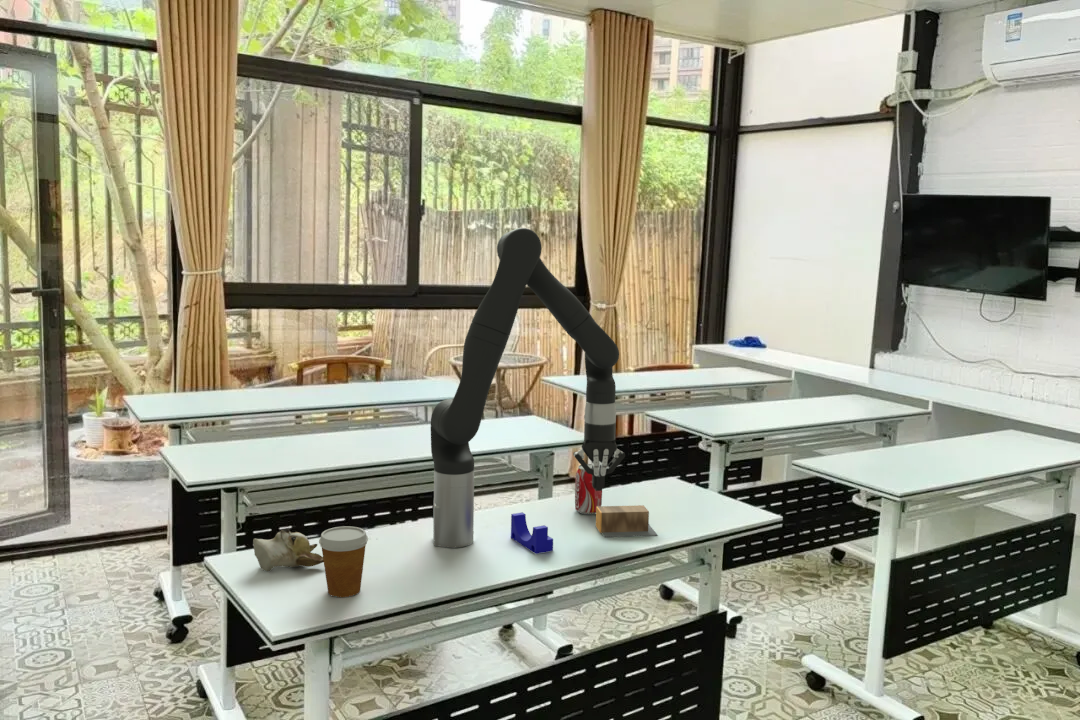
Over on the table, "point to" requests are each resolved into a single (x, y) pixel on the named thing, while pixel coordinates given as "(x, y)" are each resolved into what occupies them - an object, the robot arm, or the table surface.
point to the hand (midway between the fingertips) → (598, 489)
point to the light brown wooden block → (622, 518)
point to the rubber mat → (631, 533)
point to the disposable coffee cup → (343, 559)
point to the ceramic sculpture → (285, 551)
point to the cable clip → (534, 542)
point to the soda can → (586, 492)
